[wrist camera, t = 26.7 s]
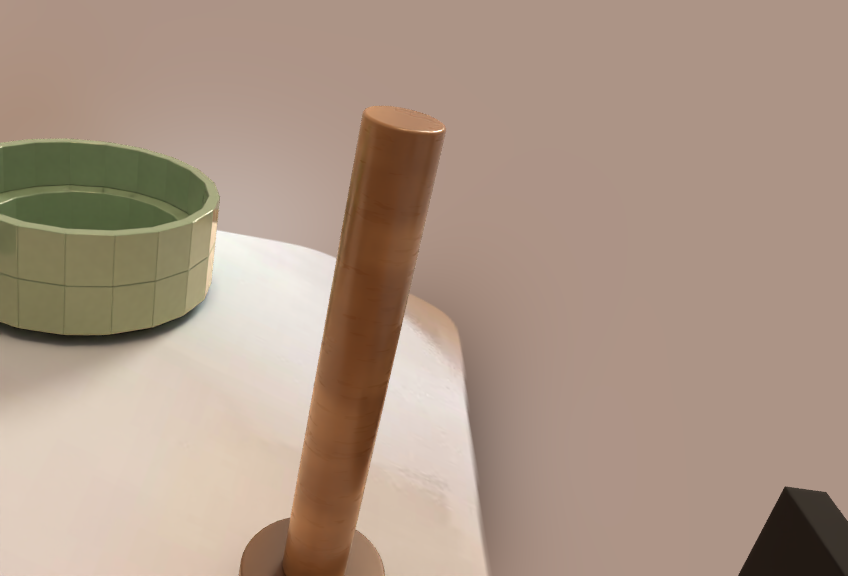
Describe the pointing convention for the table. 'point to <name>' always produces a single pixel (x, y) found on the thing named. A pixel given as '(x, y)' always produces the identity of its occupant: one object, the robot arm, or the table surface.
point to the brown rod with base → (356, 350)
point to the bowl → (101, 236)
